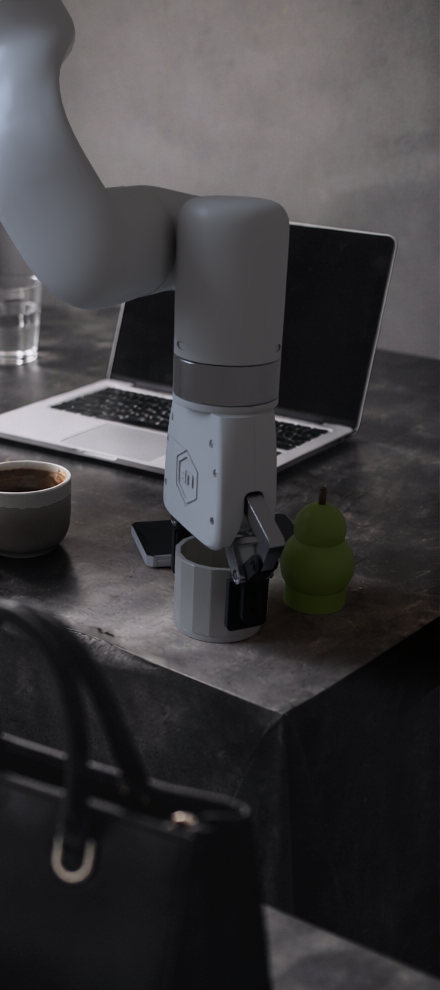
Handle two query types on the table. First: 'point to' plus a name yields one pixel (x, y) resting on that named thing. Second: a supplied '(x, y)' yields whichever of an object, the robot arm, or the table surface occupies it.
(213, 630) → the grey faceted cup
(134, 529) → the smartphone
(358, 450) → the table surface
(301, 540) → the pear
